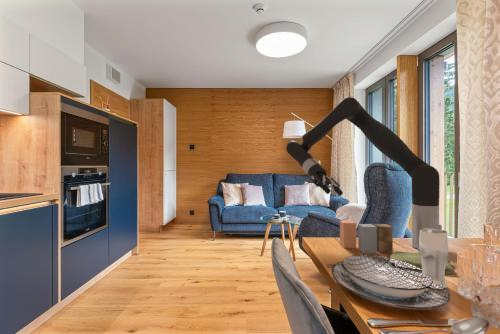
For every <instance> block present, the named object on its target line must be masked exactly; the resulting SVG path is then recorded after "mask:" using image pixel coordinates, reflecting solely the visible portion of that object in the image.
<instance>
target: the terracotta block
mask: <svg viewBox="0 0 500 334" xmlns="http://www.w3.org/2000/svg"><path fill="white" fill-rule="evenodd" d="M339 245H340V246H341V247H342V248H343V249H357V223H356V222H355V221H353V220H339Z"/></svg>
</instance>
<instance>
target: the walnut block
mask: <svg viewBox="0 0 500 334" xmlns="http://www.w3.org/2000/svg"><path fill="white" fill-rule="evenodd" d="M372 225H374V226H376V227H377V254H392V253H394V252H393V251H394V248H393V247H394V245H393V243H394V242H393V234H394V233H393V229H394V228H393V226H391V225H389V224H387V223H373V224H372Z"/></svg>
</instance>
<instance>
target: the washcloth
mask: <svg viewBox="0 0 500 334" xmlns="http://www.w3.org/2000/svg"><path fill="white" fill-rule="evenodd" d="M391 258H392V259H395V260H399V261H402V262H406V263H409V264H412V265H415V266H416V267H418V268H420V269H422V266H421V261H420V256H419V252H412V251H394V252H393V253H391V254H390V256H389V259H391ZM454 272H455V270H454V268H453V266H452V265H451V260H450V258H449V257H448V258H447V263H446V267H445V275H453V273H454Z"/></svg>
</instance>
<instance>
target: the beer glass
mask: <svg viewBox="0 0 500 334" xmlns="http://www.w3.org/2000/svg"><path fill="white" fill-rule="evenodd" d="M448 237H449V236H448V231H446V230H444V229H442V230H440V229H433V228H421V229H419V236H418V253H419V256H420V261H421V266H422V271H421V275H422V274H423V275H425V276H429V277H431V278H432V279H433V284H441V285H443V286H444V287H446V288H447V287H448V285H447V283H446V277H445V276H446V274H445V267H446V263H447V258H449V257H448V256H449V238H448Z"/></svg>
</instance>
